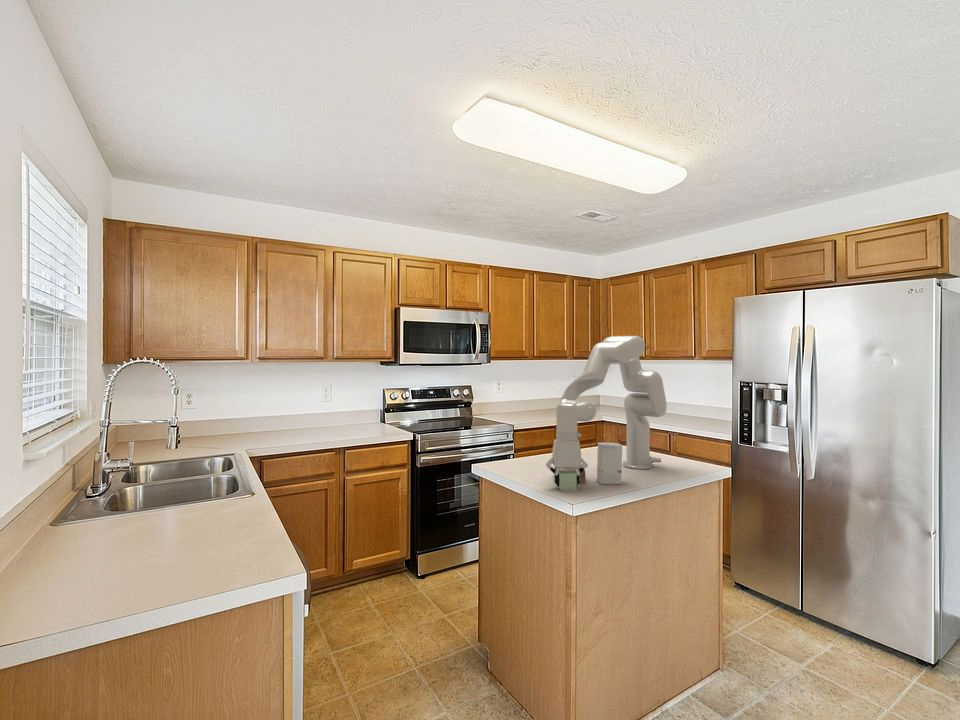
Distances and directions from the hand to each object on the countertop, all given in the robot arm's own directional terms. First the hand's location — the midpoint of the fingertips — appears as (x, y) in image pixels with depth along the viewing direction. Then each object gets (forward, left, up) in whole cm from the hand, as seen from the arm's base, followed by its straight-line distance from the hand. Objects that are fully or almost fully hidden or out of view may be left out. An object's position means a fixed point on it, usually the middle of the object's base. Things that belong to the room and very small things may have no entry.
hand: (566, 484), depth 176 cm
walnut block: (-3, -12, -1) cm, 12 cm away
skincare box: (-17, -8, -1) cm, 19 cm away
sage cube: (0, 0, -1) cm, 1 cm away
